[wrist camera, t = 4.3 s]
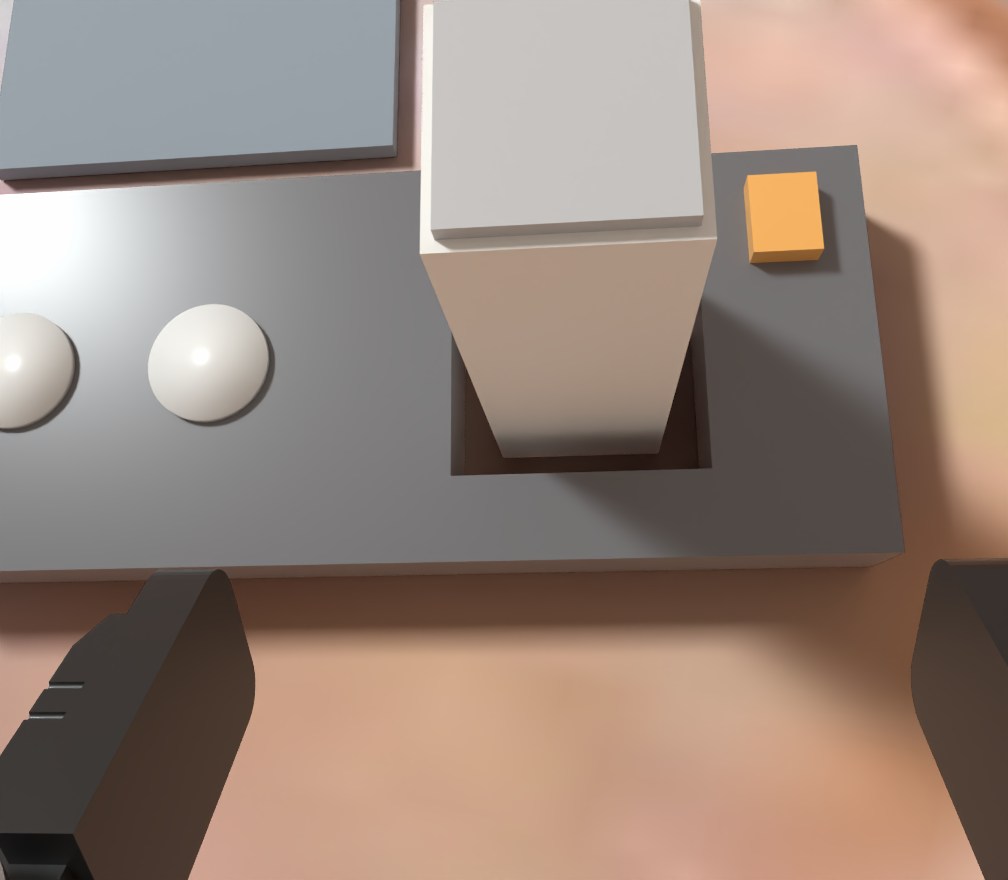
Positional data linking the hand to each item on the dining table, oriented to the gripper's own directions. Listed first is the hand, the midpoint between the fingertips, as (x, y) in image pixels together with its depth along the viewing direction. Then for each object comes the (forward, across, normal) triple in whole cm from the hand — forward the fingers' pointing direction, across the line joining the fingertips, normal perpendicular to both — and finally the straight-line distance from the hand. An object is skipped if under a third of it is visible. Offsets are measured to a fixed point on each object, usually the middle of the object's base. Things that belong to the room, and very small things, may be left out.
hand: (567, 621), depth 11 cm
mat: (+23, +11, -5) cm, 26 cm away
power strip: (+14, +7, +4) cm, 16 cm away
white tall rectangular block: (+14, 0, +4) cm, 14 cm away
